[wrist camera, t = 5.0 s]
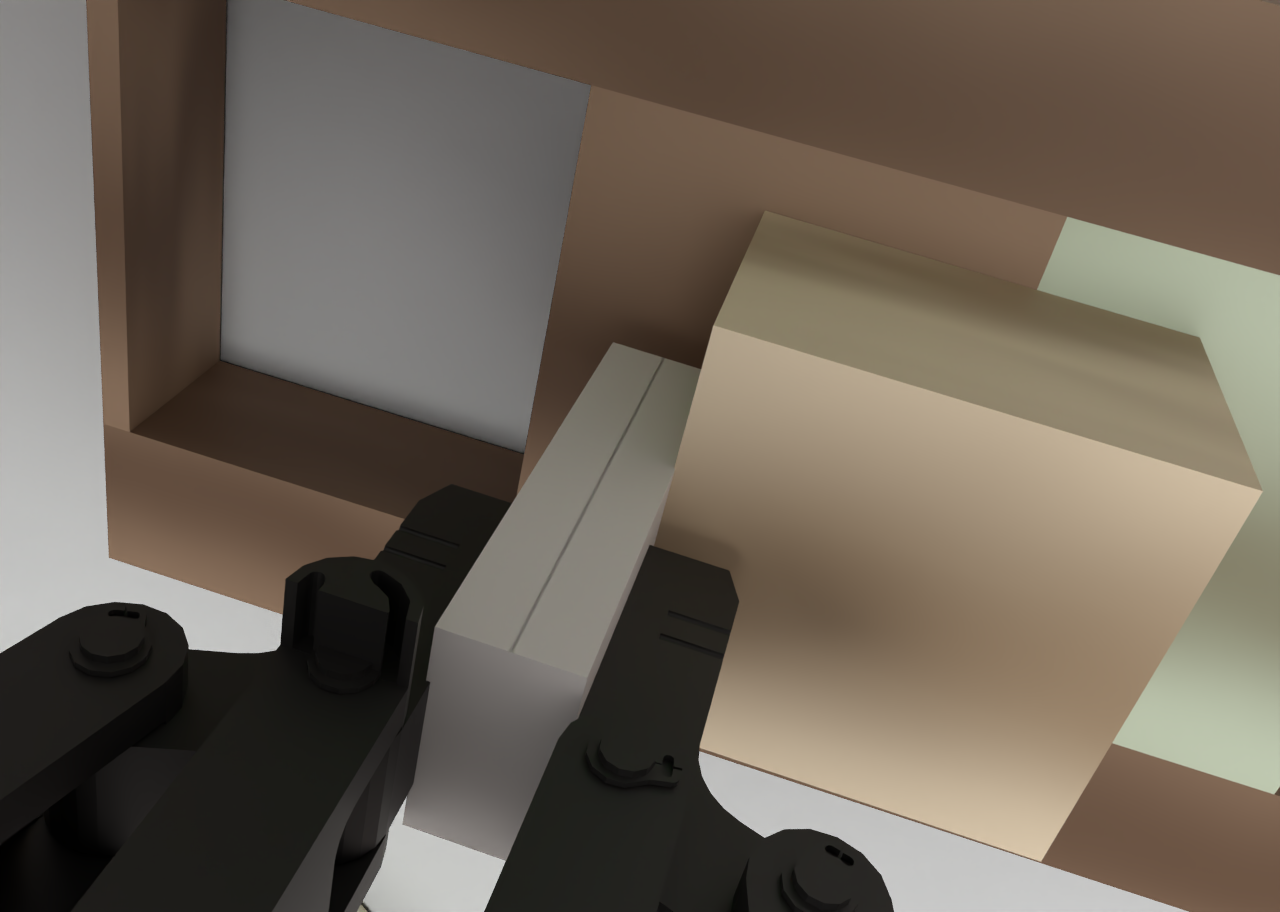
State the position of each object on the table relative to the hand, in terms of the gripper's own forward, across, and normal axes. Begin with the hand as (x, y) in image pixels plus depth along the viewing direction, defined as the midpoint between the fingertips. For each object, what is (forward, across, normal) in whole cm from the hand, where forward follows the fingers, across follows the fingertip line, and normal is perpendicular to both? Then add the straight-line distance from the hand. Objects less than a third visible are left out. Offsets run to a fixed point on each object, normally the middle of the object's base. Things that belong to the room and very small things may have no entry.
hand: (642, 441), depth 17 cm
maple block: (+1, +4, 0) cm, 4 cm away
